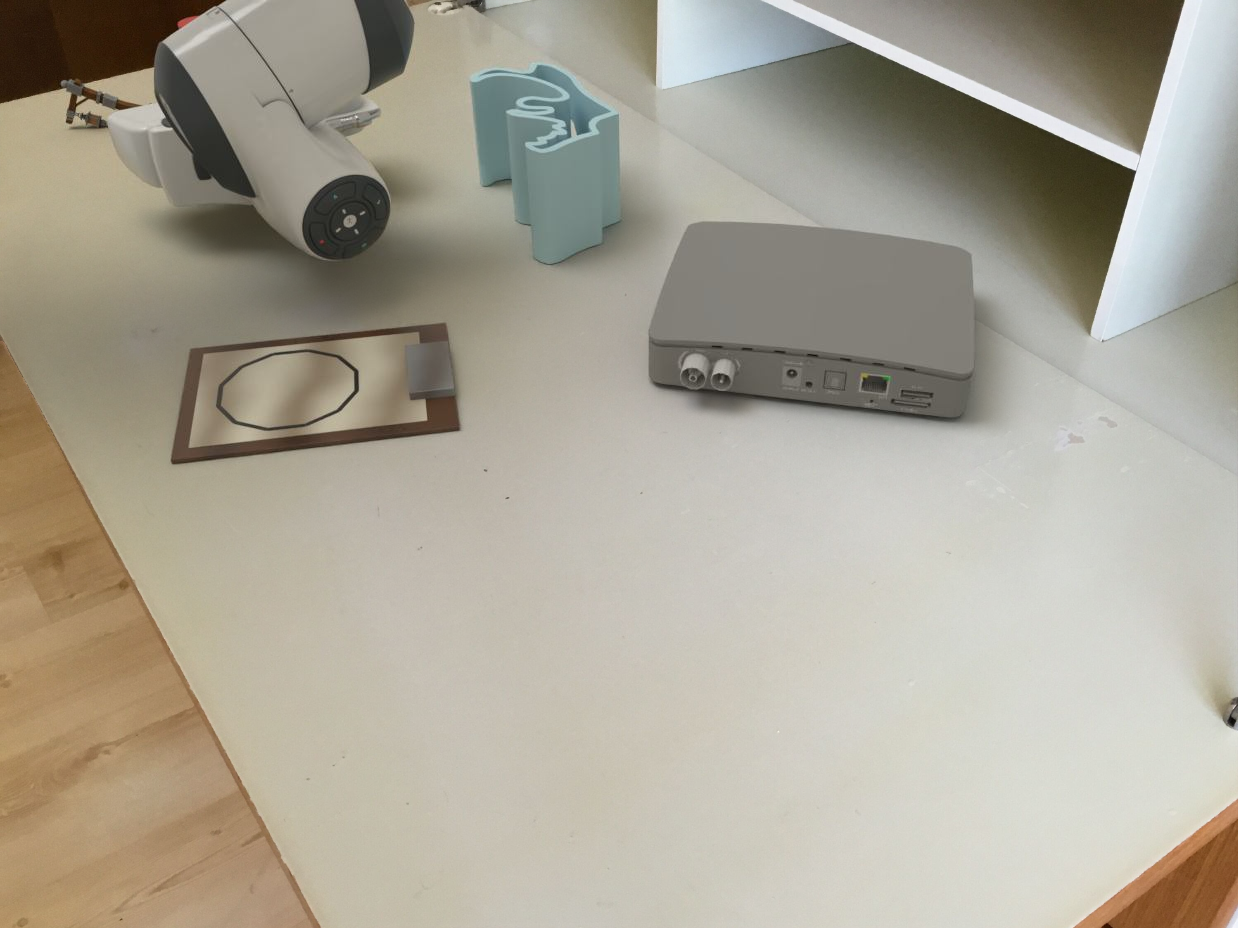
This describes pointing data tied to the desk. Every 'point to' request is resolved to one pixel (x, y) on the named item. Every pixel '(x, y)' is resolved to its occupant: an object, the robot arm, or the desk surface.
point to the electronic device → (817, 317)
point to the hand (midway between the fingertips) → (212, 89)
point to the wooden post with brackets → (99, 97)
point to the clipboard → (315, 392)
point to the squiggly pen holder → (549, 154)
